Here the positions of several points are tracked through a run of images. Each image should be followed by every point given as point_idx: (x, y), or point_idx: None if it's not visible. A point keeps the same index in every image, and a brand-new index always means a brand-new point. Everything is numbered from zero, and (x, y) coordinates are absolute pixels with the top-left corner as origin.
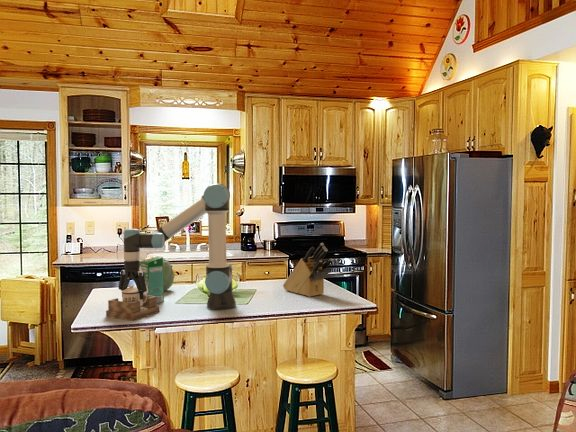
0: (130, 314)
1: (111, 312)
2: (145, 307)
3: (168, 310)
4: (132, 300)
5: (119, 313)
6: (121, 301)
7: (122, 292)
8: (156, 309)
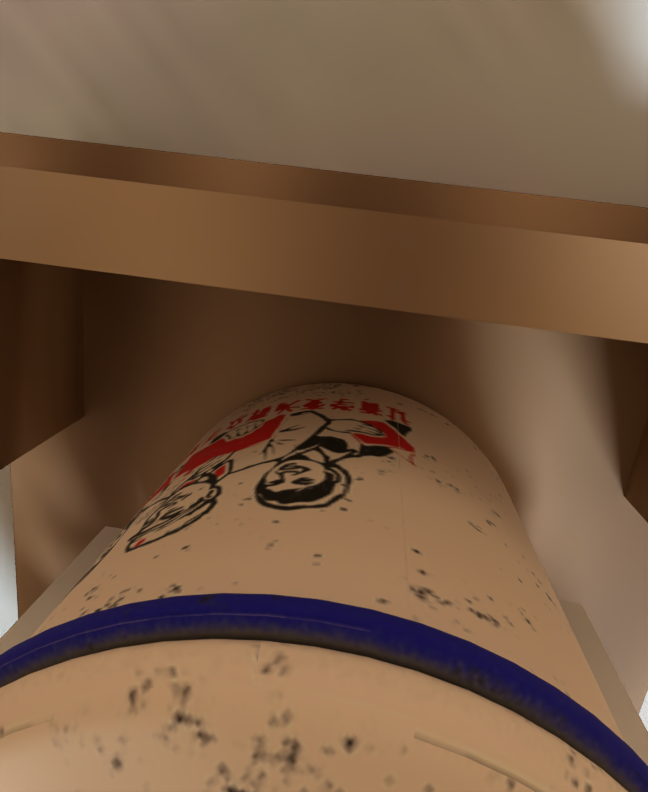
0: (43, 139)
1: (617, 207)
2: None
3: None
4: (128, 527)
5: (367, 177)
6: (363, 293)
7: (579, 751)
8: None
